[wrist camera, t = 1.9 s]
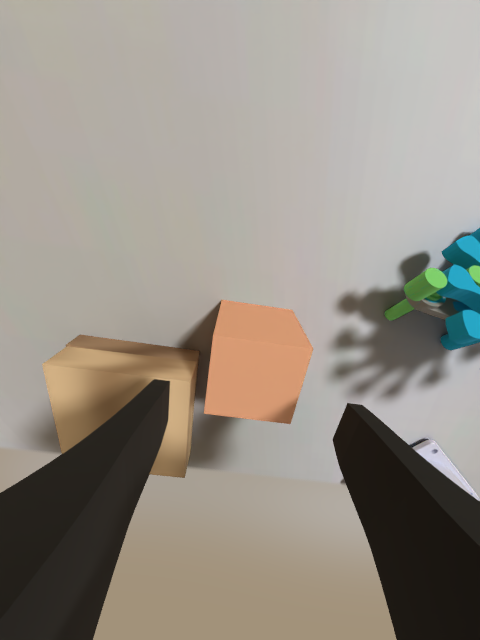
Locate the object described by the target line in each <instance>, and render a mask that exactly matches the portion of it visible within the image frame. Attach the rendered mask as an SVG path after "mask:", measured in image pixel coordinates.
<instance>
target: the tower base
mask: <svg viewBox="0 0 480 640" xmlns="http://www.w3.org/2000/svg"><path fill="white" fill-rule="evenodd" d="M67 346H69V347H77V348H86V349H94V350H102V351H111V352H119V353H128V354H136V355H145V356H153V357H161V358H170V359H178V360H187V361H195V362H197V368H196V381H197V371H198V361H199V351H196V350H189V349H181V348H174V347H167V346H159V345H152V344H145V343H137V342H130V341H122V340H115V339H108V338H100V337H93V336H86V335H79V336H78V337H76V338H75V339H73V340H72V341H71V342H69V343H68V344H66V347H67ZM195 391H196V382H195ZM194 401H195V396H194ZM193 411H194V410H193Z"/></svg>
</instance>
